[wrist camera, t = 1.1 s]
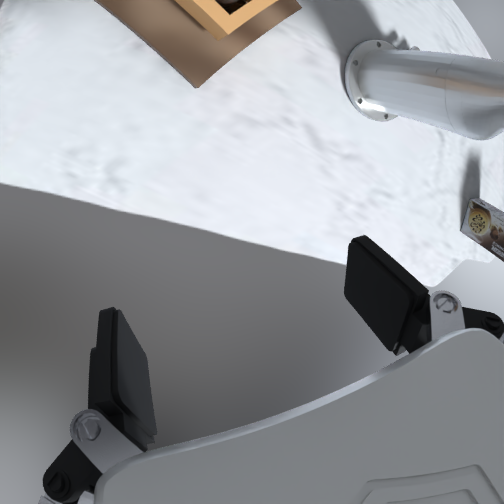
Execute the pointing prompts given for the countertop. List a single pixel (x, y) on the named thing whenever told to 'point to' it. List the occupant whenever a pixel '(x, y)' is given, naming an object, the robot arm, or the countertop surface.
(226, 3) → the shiny metal knob
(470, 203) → the coffee box
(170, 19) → the board
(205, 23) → the collar
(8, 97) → the countertop surface
